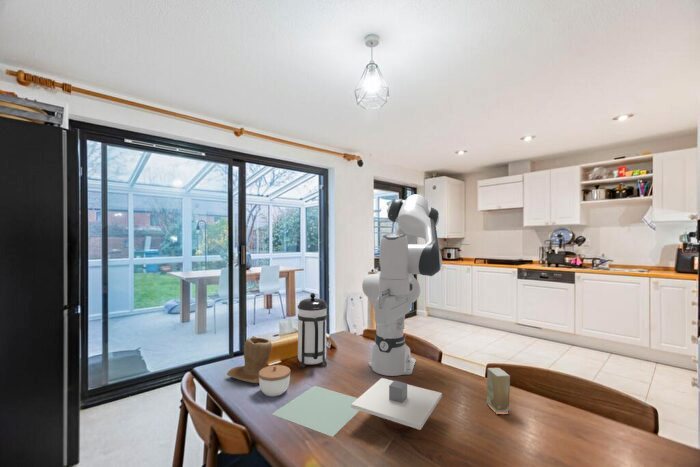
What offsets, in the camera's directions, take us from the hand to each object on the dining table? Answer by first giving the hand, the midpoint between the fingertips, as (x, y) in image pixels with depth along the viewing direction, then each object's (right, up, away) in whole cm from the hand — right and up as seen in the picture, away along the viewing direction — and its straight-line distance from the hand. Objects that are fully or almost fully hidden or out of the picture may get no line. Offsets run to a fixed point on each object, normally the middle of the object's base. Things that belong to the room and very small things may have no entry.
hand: (393, 333), depth 97 cm
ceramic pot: (+1, -26, -3) cm, 26 cm away
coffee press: (-29, -26, +41) cm, 57 cm away
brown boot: (-51, -26, +27) cm, 63 cm away
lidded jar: (-39, -26, +15) cm, 49 cm away
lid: (+1, -19, -3) cm, 19 cm away
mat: (-22, -25, +5) cm, 34 cm away
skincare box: (+34, -26, +5) cm, 43 cm away
